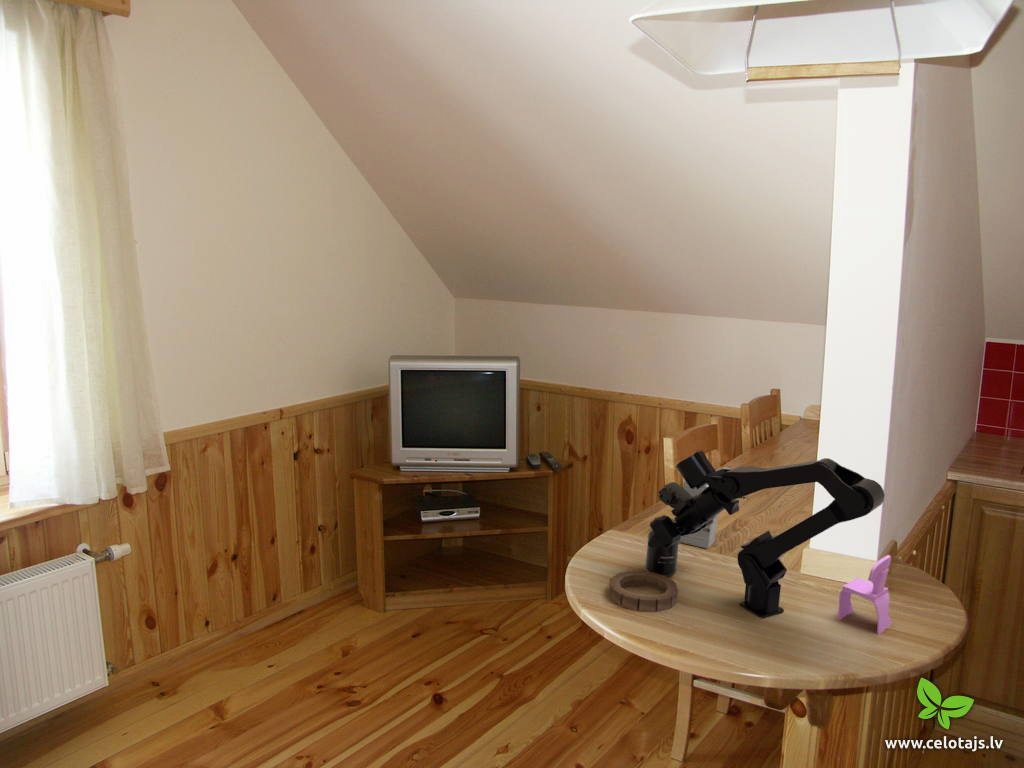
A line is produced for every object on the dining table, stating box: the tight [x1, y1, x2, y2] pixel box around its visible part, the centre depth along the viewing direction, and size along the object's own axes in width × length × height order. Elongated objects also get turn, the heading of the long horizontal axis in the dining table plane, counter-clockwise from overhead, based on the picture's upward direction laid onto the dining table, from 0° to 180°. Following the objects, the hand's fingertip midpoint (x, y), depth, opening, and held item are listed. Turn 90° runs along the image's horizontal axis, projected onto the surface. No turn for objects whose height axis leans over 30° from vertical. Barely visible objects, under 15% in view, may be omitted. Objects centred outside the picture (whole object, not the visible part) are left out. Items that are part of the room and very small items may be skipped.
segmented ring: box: [608, 570, 679, 613], centre depth 174 cm, size 14×14×2 cm
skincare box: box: [678, 480, 719, 549], centre depth 203 cm, size 8×7×16 cm
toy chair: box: [837, 554, 893, 636], centre depth 164 cm, size 8×9×15 cm
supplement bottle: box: [645, 516, 679, 577], centre depth 184 cm, size 7×7×12 cm
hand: (657, 541), depth 185 cm, fingers closed on supplement bottle, 7 cm apart
